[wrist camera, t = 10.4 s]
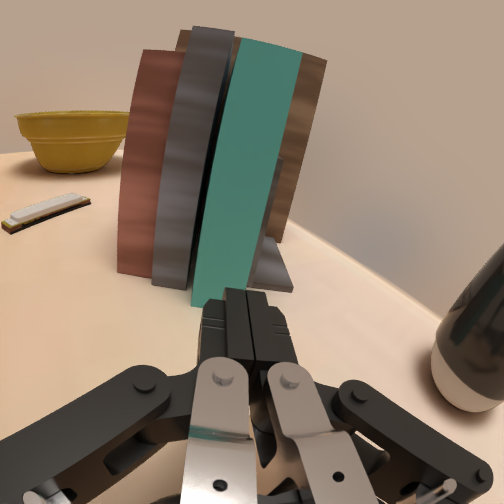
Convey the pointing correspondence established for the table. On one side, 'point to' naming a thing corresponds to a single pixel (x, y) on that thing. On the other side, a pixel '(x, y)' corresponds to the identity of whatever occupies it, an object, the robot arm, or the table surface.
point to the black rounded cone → (473, 342)
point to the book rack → (198, 159)
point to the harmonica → (43, 212)
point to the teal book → (243, 166)
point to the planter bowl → (74, 138)
